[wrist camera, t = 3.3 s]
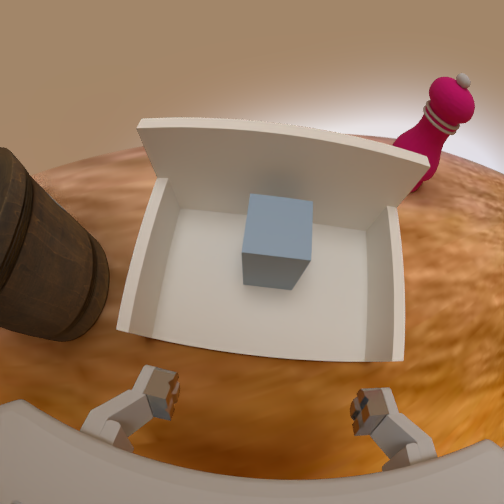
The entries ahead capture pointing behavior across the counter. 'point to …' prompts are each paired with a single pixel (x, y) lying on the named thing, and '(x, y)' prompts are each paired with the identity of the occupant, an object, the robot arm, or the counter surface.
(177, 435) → the counter surface
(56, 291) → the wooden container
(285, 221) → the block
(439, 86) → the pepper mill
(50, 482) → the robot arm
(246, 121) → the open box
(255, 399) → the counter surface
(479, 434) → the counter surface
